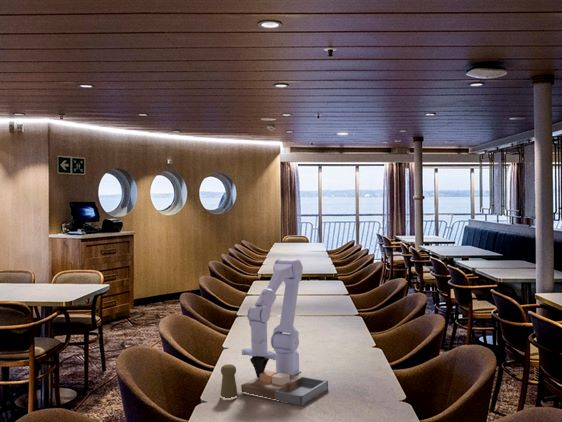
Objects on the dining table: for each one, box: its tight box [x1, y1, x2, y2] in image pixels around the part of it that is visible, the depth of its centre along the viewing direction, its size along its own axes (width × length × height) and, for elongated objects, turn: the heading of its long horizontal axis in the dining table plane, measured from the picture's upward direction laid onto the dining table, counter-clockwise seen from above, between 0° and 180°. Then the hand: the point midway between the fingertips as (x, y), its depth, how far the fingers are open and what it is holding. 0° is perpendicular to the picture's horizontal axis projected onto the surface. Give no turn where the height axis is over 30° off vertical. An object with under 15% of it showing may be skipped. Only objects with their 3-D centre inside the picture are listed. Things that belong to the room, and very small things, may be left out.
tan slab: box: [240, 375, 302, 399], centre depth 196 cm, size 18×14×3 cm
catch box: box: [275, 376, 329, 407], centre depth 189 cm, size 18×10×3 cm, turn 147°
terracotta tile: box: [260, 370, 277, 383], centre depth 197 cm, size 4×4×2 cm
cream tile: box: [272, 373, 290, 385], centre depth 194 cm, size 4×4×2 cm
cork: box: [220, 363, 239, 398], centre depth 189 cm, size 6×6×11 cm
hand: (260, 377), depth 199 cm, fingers closed
